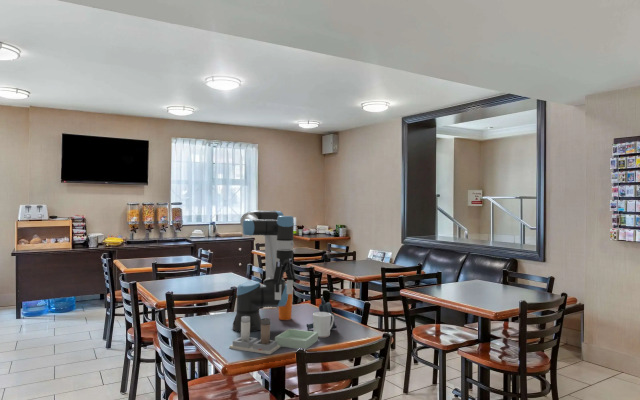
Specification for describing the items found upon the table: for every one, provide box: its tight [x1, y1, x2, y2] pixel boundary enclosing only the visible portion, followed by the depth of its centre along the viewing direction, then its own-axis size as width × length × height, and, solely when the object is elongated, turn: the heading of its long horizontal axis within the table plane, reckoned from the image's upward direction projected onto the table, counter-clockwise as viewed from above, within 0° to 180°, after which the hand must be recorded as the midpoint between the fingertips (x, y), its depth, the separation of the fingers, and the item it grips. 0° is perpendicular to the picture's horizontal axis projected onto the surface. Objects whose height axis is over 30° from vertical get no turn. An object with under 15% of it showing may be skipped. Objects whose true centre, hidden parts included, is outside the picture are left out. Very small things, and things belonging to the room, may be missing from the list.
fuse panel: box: [228, 336, 281, 355], centre depth 187 cm, size 20×10×3 cm, turn 69°
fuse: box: [240, 316, 251, 342], centre depth 189 cm, size 4×4×12 cm
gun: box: [306, 296, 338, 331], centre depth 218 cm, size 3×17×15 cm
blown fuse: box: [260, 318, 271, 345], centre depth 186 cm, size 4×4×12 cm
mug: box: [312, 311, 335, 338], centre depth 209 cm, size 11×9×10 cm
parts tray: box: [274, 328, 319, 350], centre depth 195 cm, size 15×15×4 cm
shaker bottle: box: [277, 281, 294, 321], centre depth 240 cm, size 9×9×20 cm
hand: (283, 296), depth 191 cm, fingers open, 13 cm apart
